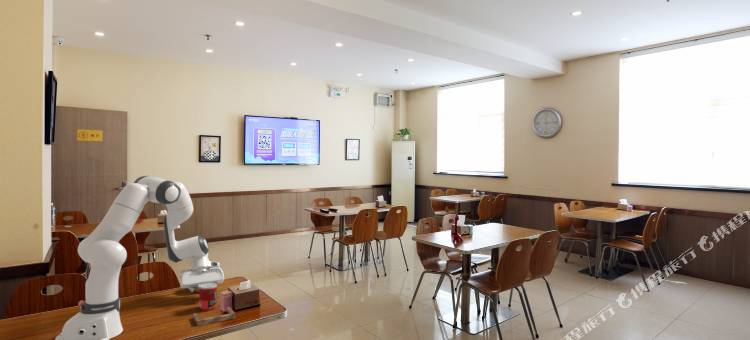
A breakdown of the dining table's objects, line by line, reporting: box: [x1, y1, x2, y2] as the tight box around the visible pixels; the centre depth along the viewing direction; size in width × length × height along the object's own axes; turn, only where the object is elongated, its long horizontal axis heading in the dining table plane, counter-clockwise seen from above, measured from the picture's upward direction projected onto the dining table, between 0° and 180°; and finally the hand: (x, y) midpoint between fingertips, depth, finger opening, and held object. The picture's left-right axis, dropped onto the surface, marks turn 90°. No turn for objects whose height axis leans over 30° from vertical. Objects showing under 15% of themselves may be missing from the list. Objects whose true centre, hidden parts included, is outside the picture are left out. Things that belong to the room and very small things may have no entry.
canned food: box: [198, 283, 218, 312], centre depth 196 cm, size 8×8×11 cm
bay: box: [192, 306, 236, 327], centre depth 184 cm, size 16×10×2 cm, turn 123°
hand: (204, 292), depth 203 cm, fingers closed
